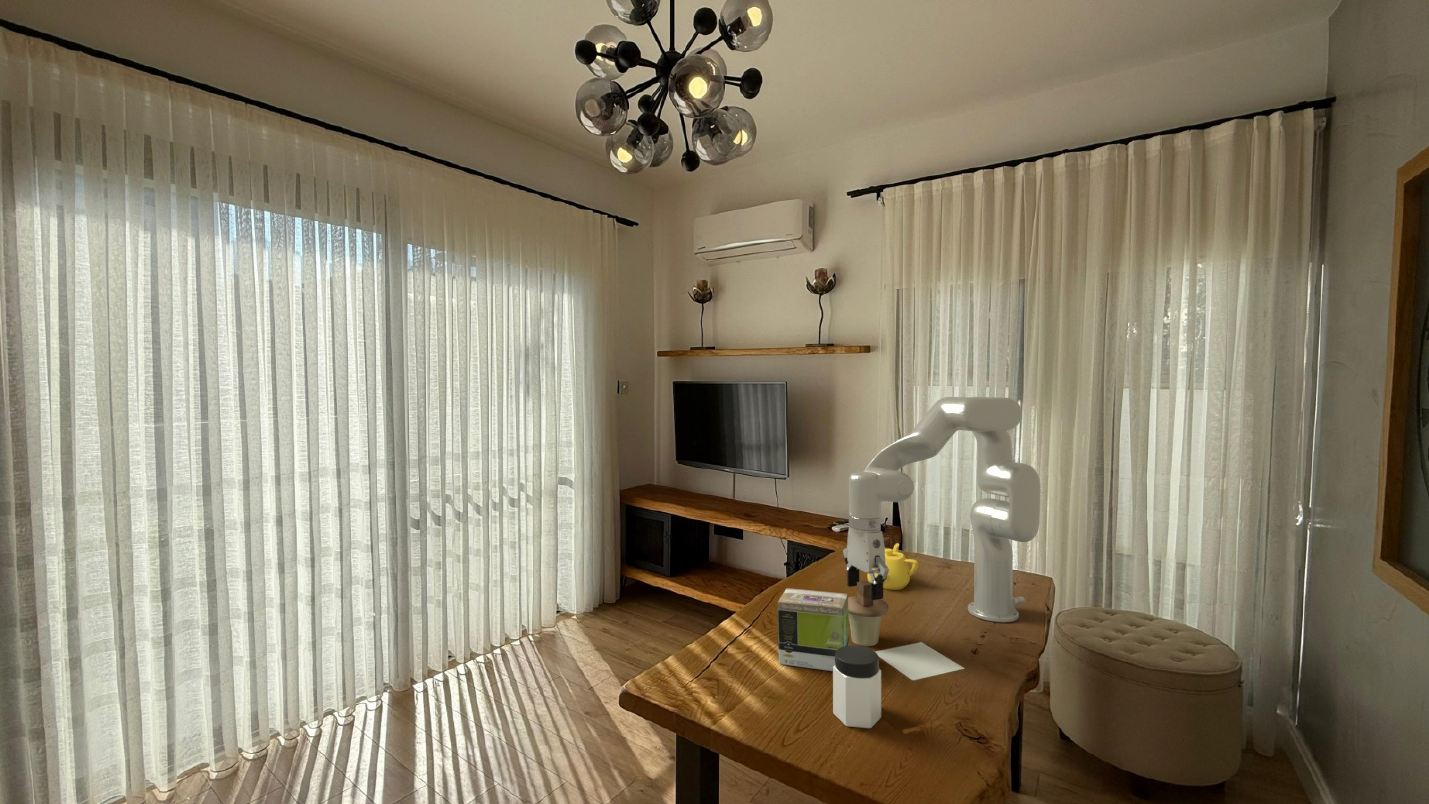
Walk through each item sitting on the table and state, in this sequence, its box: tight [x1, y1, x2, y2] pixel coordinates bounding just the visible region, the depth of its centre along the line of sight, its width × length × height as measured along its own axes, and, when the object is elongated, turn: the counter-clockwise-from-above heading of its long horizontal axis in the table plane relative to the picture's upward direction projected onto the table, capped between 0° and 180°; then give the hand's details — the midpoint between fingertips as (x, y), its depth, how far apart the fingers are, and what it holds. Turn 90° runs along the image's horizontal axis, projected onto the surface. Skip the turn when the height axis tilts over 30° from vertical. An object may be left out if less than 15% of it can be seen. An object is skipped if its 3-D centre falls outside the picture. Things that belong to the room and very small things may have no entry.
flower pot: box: [848, 613, 884, 647], centre depth 142 cm, size 9×9×9 cm
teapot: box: [867, 542, 919, 591], centre depth 184 cm, size 22×16×11 cm
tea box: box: [777, 587, 850, 672], centre depth 134 cm, size 15×10×15 cm
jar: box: [832, 644, 882, 729], centre depth 111 cm, size 9×8×12 cm
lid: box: [848, 580, 890, 617], centre depth 142 cm, size 11×11×6 cm
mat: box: [875, 641, 965, 681], centre depth 132 cm, size 14×14×1 cm
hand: (864, 592), depth 142 cm, fingers open, 9 cm apart
